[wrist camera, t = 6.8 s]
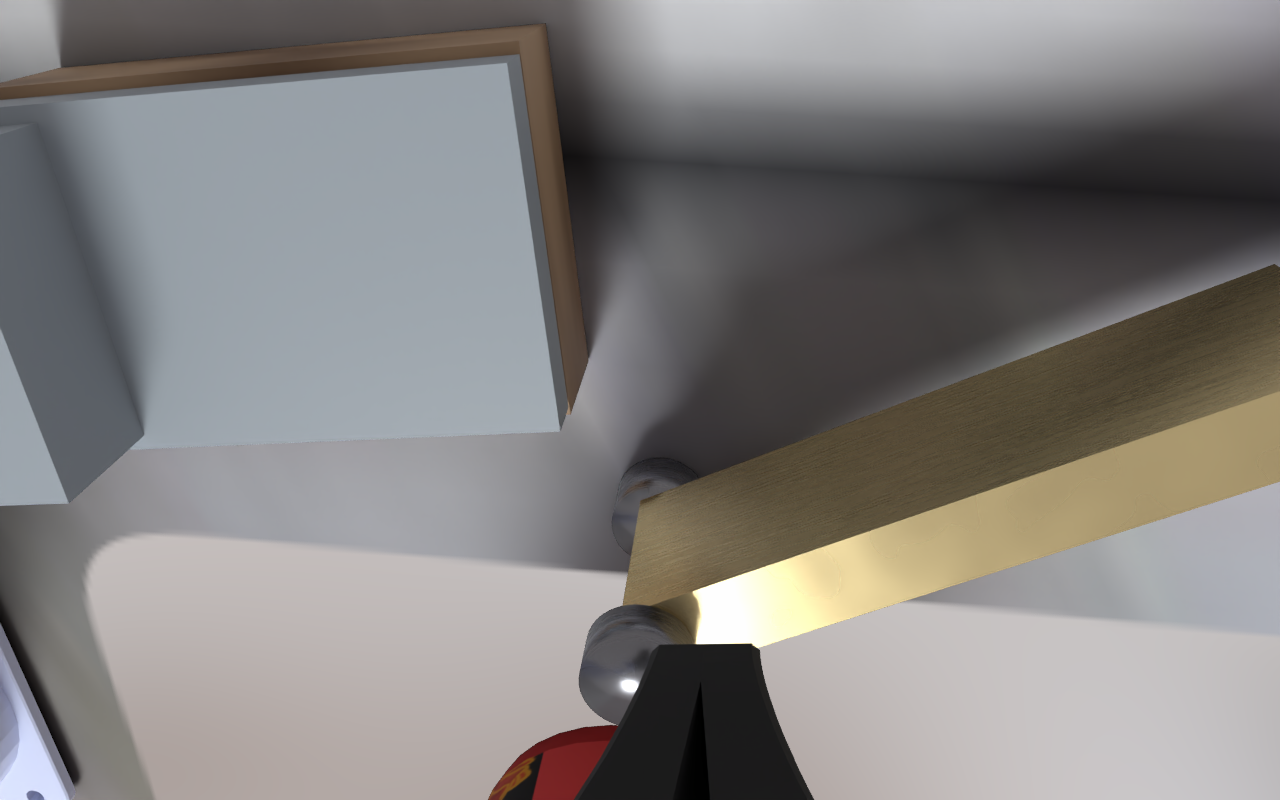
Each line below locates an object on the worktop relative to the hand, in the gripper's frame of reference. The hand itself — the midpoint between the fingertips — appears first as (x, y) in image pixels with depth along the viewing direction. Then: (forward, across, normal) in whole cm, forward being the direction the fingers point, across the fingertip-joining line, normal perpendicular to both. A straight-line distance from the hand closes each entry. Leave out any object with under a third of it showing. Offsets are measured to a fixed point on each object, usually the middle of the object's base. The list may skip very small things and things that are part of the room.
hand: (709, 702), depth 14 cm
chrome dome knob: (+10, +2, +3) cm, 10 cm away
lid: (+7, +8, -4) cm, 11 cm away
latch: (+8, -4, +1) cm, 9 cm away
